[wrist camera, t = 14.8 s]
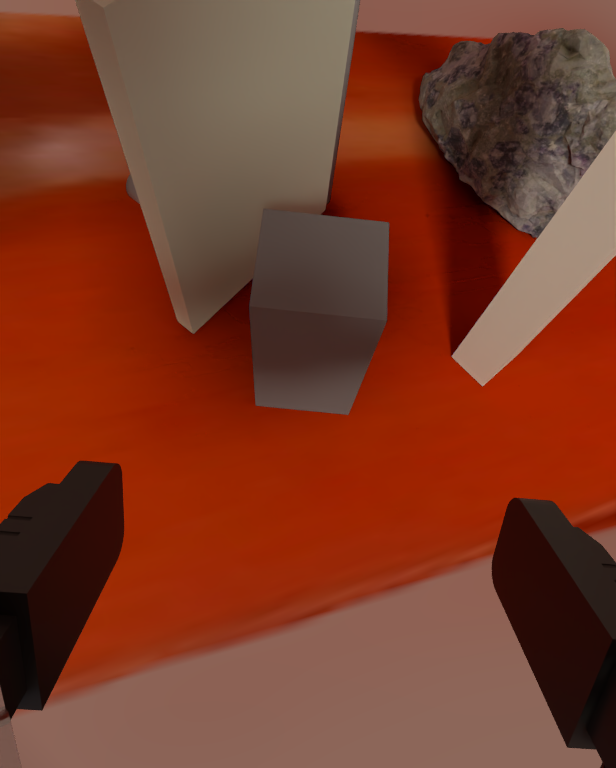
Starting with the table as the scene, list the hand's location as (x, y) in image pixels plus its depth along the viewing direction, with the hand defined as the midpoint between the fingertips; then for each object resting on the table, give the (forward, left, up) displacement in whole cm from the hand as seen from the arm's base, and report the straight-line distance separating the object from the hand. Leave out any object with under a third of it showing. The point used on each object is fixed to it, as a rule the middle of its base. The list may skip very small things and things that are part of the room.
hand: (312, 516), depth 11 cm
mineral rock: (-10, +28, -15) cm, 34 cm away
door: (-15, +10, -15) cm, 23 cm away
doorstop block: (-7, +7, -15) cm, 18 cm away
